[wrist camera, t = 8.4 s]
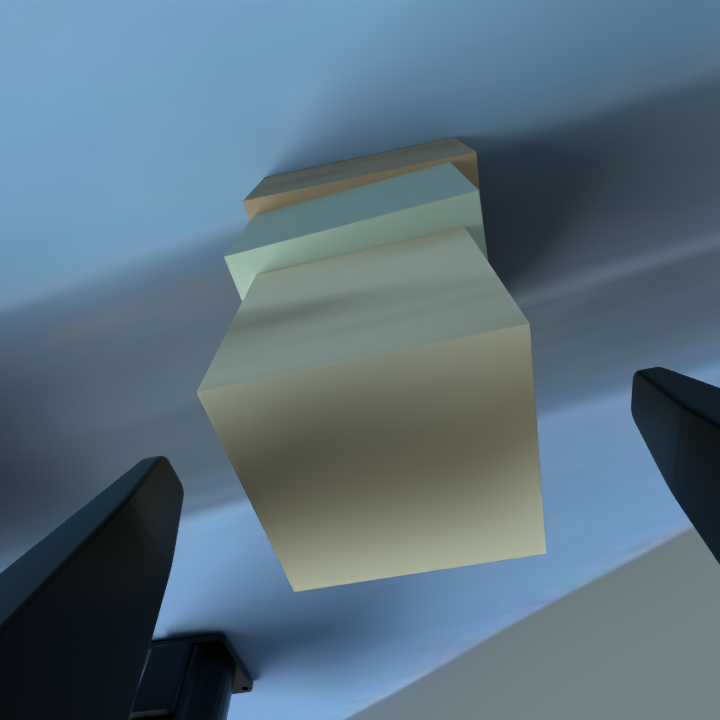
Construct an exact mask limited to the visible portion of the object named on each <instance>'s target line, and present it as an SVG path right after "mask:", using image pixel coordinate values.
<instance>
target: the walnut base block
mask: <svg viewBox="0 0 720 720" xmlns="http://www.w3.org/2000/svg"><path fill="white" fill-rule="evenodd" d="M448 162H450V163H452V164H453V165H454V166H455V167H456V168H457V169H458V170H459V171H460V172H461V173H462V174H463V175H464V176H465V177H466V178H467V179H468V180H469V181H470V182H471V183H472V184H473V185H474V186H475V187H476V188H477V189H478V190H479V196H480V189H479V175H478V162H477V152H476V151H475V150H473V149H472V148H470V147H469V146H467V145H466V144H464V143H463V142H461V141H460V140H458V139H457V138H455V137H452V138H448V139H443V140H438V141H434V142H429V143H424V144H420V145H415V146H410V147H406V148H401V149H396V150H392V151H387V152H382V153H378V154H373V155H368V156H364V157H359V158H354V159H350V160H345V161H340V162H336V163H331V164H326V165H322V166H317V167H312V168H308V169H303V170H298V171H294V172H289V173H284V174H280V175H275V176H270V177H266V178H264V179H263V180H262V181H261V182H260V183H259V184H258V185H257V186H256V188H255V189H254V190H253V191H252V192H251V193H250V194H249V195H248V196H247V197H246V199H245V200H244V205H245V208H246V211H247V214H248V217H249V221H251V219H252V218H253V217H254V215H255V214H259V213H263V212H266V211H270V210H274V209H277V208H281V207H285V206H289V205H292V204H296V203H300V202H303V201H307V200H311V199H315V198H318V197H322V196H326V195H329V194H333V193H337V192H340V191H344V190H348V189H352V188H355V187H359V186H363V185H366V184H370V183H374V182H377V181H381V180H385V179H389V178H392V177H396V176H400V175H403V174H407V173H411V172H415V171H418V170H422V169H426V168H429V167H433V166H437V165H440V164H444V163H448ZM480 203H481V202H480Z"/></svg>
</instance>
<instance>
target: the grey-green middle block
mask: <svg viewBox="0 0 720 720" xmlns="http://www.w3.org/2000/svg"><path fill="white" fill-rule="evenodd" d="M463 226H464V227H465V228H466V230H467V231H468V233H469V234H470V236H471V237H472V239H473V240H474V242H475V243H476V245H477V246H478V248H479V249H480V251H481V252H482V254H483V255H484V257H485V258H486V259H487V261H488V256H487V249H486V241H485V233H484V226H483V218H482V211H481V203H480V196H479V190H478V189H477V188H476V187H475V186H474V185H473V184H472V183H471V182H470V181H469V180H468V179H467V178H466V177H465V176H464V175H463V174H462V173H461V172H460V171H459V170H458V169H457V168H456V167H455V166H454V165H453V164H452V163H450V162H448V163H444V164H440V165H437V166H433V167H429V168H426V169H422V170H418V171H415V172H411V173H407V174H403V175H400V176H396V177H392V178H389V179H385V180H381V181H377V182H374V183H370V184H366V185H363V186H359V187H355V188H352V189H348V190H344V191H340V192H337V193H333V194H329V195H326V196H322V197H318V198H315V199H311V200H307V201H303V202H300V203H296V204H292V205H289V206H285V207H281V208H277V209H274V210H270V211H266V212H263V213H259V214H255V215H254V217H253V218H252V219H251V221H250V222H249V224H248V225H247V226H246V228H245V229H244V230H243V232H242V233H241V234H240V236H239V237H238V238H237V240H236V241H235V243H234V244H233V245H232V247H231V248H230V249H229V251H228V252H227V253H226V255H225V256H224V258H225V260H226V263H227V265H228V267H229V270H230V272H231V275H232V277H233V280H234V282H235V285H236V287H237V289H238V292H239V294H240V297H241V299H242V301H243V299H244V297H245V295H246V294H247V292H248V290H249V288H250V286H251V284H252V282H253V280H254V278H255V276H256V275H257V274H262V273H266V272H270V271H275V270H279V269H283V268H287V267H292V266H296V265H300V264H305V263H309V262H313V261H317V260H322V259H326V258H330V257H335V256H339V255H343V254H347V253H352V252H356V251H360V250H365V249H369V248H373V247H377V246H382V245H386V244H390V243H395V242H399V241H403V240H407V239H412V238H416V237H420V236H424V235H429V234H433V233H437V232H442V231H446V230H450V229H454V228H459V227H463Z"/></svg>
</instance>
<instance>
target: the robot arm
mask: <svg viewBox="0 0 720 720" xmlns="http://www.w3.org/2000/svg"><path fill="white" fill-rule="evenodd" d="M631 412H632V416H633V419H634V421H635V423H636V425H637V427H638V429H639V431H640V433H641V435H642V437H643V439H644V441H645V443H646V445H647V447H648V449H649V451H650V453H651V455H652V456H653V458H654V460H655V462H656V464H657V466H658V468H659V470H660V472H661V474H662V476H663V478H664V480H665V482H666V483H667V485H668V487H669V489H670V491H671V492H672V494H673V495H674V497H675V499H676V500H677V502H678V503H679V505H680V506H681V508H682V509H683V511H684V512H685V514H686V515H687V517H688V518H689V520H690V521H691V523H692V524H693V526H694V527H695V529H696V530H697V532H698V533H699V534H700V536H701V537H702V539H703V540H704V542H705V543H706V545H707V546H708V548H709V549H710V551H711V552H712V554H713V555H714V557H715V558H716V560H717V561H718V563H719V564H720V388H718V387H715V386H713V385H710V384H707V383H704V382H702V381H699V380H696V379H693V378H690V377H688V376H685V375H682V374H679V373H676V372H674V371H671V370H668V369H665V368H662V367H654V368H649V369H643V370H638V371H637V372H636V373H635V374H634V376H633V386H632V401H631ZM183 496H184V491H183V487H182V484H181V482H180V480H179V478H178V476H177V475H176V473H175V471H174V469H173V467H172V465H171V464H170V462H169V460H168V459H167V458H166V457H164V456H157V457H151V458H146V459H143V460H141V461H140V462H139V463H138V464H136V465H135V466H134V467H133V468H131V469H130V470H129V471H128V472H126V473H125V474H124V475H123V476H121V477H120V478H119V479H118V480H116V481H115V482H114V483H113V484H111V485H110V486H109V487H108V488H106V489H105V490H104V491H103V492H101V493H100V494H99V495H98V496H96V497H95V498H94V499H93V500H91V501H90V502H89V503H88V504H86V505H85V506H84V507H83V508H81V509H80V510H79V511H78V512H76V513H75V514H74V515H73V516H71V517H70V518H69V519H68V520H66V521H65V522H64V523H63V524H61V525H60V526H59V527H58V528H56V529H55V530H54V531H53V532H51V533H50V534H49V535H48V536H46V537H45V538H44V539H43V540H41V541H40V542H39V543H38V544H36V545H35V546H34V547H33V548H31V549H30V550H29V551H28V552H26V553H25V554H24V555H23V556H21V557H20V558H19V559H18V560H16V561H15V562H14V563H13V564H11V565H10V566H9V567H8V568H6V569H5V570H4V571H3V572H1V573H0V720H226V719H227V714H228V710H229V705H230V700H231V695H232V694H236V693H244V692H250V691H251V690H252V688H253V681H252V679H251V678H250V676H249V674H248V673H247V671H246V669H245V668H244V666H243V665H242V663H241V661H240V660H239V658H238V656H237V655H236V653H235V652H234V650H233V648H232V647H231V645H230V644H229V642H228V640H227V639H226V637H225V636H224V635H221V634H212V635H205V636H197V637H190V638H183V639H175V640H168V641H160V642H153V643H151V640H152V636H153V633H154V629H155V626H156V622H157V618H158V615H159V611H160V608H161V604H162V600H163V597H164V593H165V590H166V586H167V582H168V579H169V575H170V571H171V567H172V562H173V557H174V551H175V545H176V539H177V533H178V527H179V521H180V515H181V509H182V503H183ZM142 672H143V673H142Z"/></svg>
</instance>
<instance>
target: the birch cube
mask: <svg viewBox="0 0 720 720" xmlns="http://www.w3.org/2000/svg"><path fill="white" fill-rule="evenodd" d="M197 395H198V397H199V399H200V401H201V403H202V405H203V407H204V409H205V411H206V413H207V415H208V417H209V419H210V421H211V423H212V425H213V427H214V429H215V431H216V433H217V435H218V437H219V439H220V441H221V443H222V445H223V448H224V450H225V452H226V454H227V456H228V458H229V460H230V462H231V464H232V466H233V468H234V470H235V472H236V474H237V476H238V478H239V480H240V482H241V484H242V486H243V488H244V490H245V492H246V494H247V496H248V498H249V500H250V502H251V504H252V506H253V509H254V511H255V513H256V515H257V517H258V519H259V521H260V523H261V525H262V527H263V529H264V531H265V533H266V535H267V537H268V539H269V541H270V543H271V545H272V547H273V549H274V551H275V553H276V555H277V557H278V559H279V561H280V563H281V565H282V568H283V570H284V572H285V574H286V576H287V578H288V580H289V582H290V584H291V586H292V588H293V590H294V592H298V591H304V590H311V589H317V588H324V587H331V586H337V585H344V584H350V583H357V582H363V581H370V580H376V579H383V578H389V577H396V576H403V575H409V574H416V573H422V572H429V571H435V570H442V569H448V568H455V567H461V566H468V565H475V564H481V563H488V562H494V561H501V560H507V559H514V558H520V557H527V556H533V555H540V554H546V545H545V531H544V517H543V503H542V489H541V475H540V461H539V447H538V434H537V420H536V406H535V392H534V378H533V364H532V350H531V337H530V324H529V322H528V321H527V319H526V318H525V316H524V315H523V313H522V312H521V310H520V309H519V307H518V306H517V304H516V303H515V301H514V300H513V298H512V297H511V295H510V294H509V292H508V291H507V289H506V288H505V286H504V285H503V283H502V282H501V280H500V279H499V277H498V276H497V274H496V273H495V271H494V270H493V268H492V267H491V265H490V264H489V262H488V261H487V259H486V258H485V257H484V255H483V254H482V252H481V251H480V249H479V248H478V246H477V245H476V243H475V242H474V240H473V239H472V237H471V236H470V234H469V233H468V231H467V230H466V228H465V227H464V226H463V227H459V228H454V229H450V230H446V231H442V232H437V233H433V234H429V235H424V236H420V237H416V238H412V239H407V240H403V241H399V242H395V243H390V244H386V245H382V246H377V247H373V248H369V249H365V250H360V251H356V252H352V253H347V254H343V255H339V256H335V257H330V258H326V259H322V260H317V261H313V262H309V263H305V264H300V265H296V266H292V267H287V268H283V269H279V270H275V271H270V272H266V273H262V274H257V275H256V276H255V278H254V280H253V282H252V284H251V286H250V288H249V290H248V292H247V294H246V295H245V297H244V299H243V301H242V303H241V305H240V307H239V309H238V311H237V313H236V315H235V317H234V319H233V321H232V323H231V325H230V327H229V329H228V331H227V333H226V335H225V337H224V339H223V341H222V343H221V345H220V347H219V349H218V351H217V353H216V355H215V357H214V359H213V361H212V363H211V365H210V367H209V369H208V371H207V373H206V375H205V377H204V379H203V381H202V383H201V385H200V387H199V389H198V391H197Z"/></svg>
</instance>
